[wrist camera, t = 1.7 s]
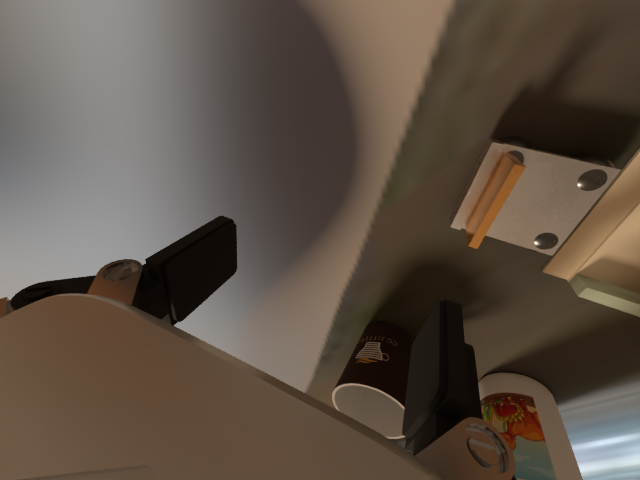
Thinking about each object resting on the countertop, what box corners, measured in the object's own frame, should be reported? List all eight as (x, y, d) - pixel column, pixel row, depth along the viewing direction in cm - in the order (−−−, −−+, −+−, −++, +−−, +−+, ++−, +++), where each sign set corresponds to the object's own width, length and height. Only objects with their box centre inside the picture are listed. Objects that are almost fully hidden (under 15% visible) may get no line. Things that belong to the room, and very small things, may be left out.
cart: (614, 155, 19) (682, 182, 13) (544, 246, 23) (575, 294, 18) (489, 128, 21) (505, 143, 15) (447, 216, 25) (448, 252, 20)
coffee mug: (352, 348, 39) (329, 414, 31) (360, 306, 35) (335, 371, 27) (435, 379, 36) (432, 463, 28) (455, 337, 31) (458, 422, 23)
